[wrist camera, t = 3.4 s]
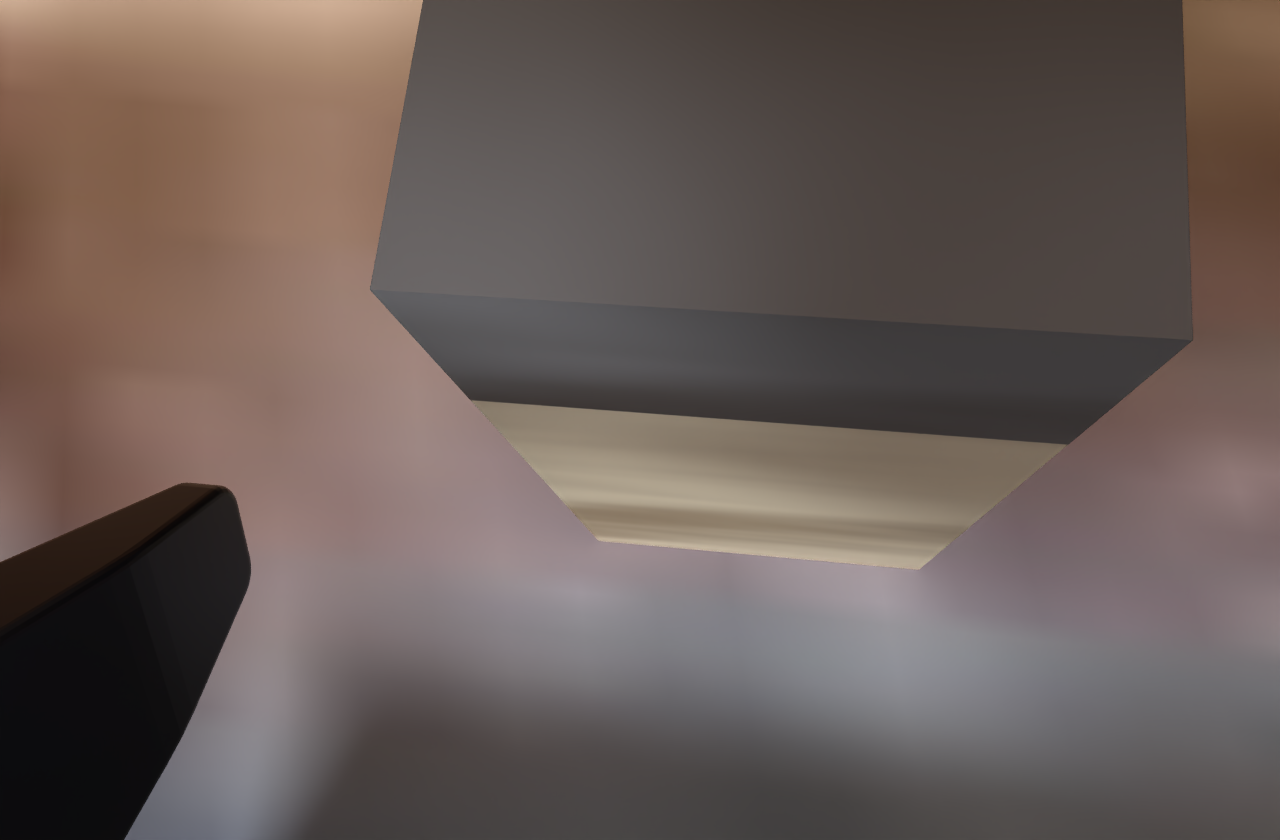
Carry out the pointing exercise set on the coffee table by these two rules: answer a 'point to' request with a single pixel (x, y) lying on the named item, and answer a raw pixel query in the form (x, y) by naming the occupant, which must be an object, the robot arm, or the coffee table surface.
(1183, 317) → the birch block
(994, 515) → the coffee table surface
